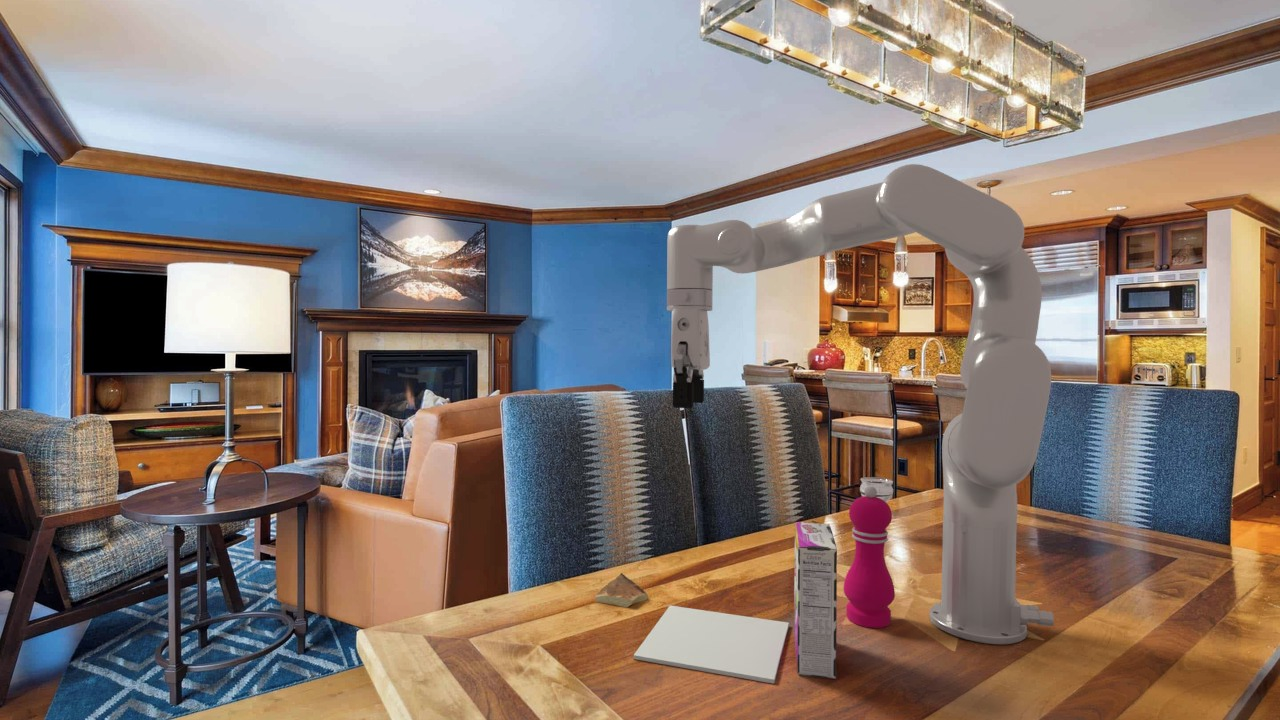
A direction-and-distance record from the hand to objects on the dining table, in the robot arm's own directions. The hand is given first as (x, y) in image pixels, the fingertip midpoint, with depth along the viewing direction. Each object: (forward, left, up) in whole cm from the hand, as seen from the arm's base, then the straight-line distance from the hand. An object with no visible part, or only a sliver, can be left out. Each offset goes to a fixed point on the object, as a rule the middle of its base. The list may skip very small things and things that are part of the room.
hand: (688, 404), depth 107 cm
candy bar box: (-22, +17, -31) cm, 42 cm away
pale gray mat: (-9, +17, -31) cm, 36 cm away
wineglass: (-31, -44, -31) cm, 62 cm away
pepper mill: (-29, +2, -31) cm, 42 cm away
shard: (+10, +6, -32) cm, 34 cm away
